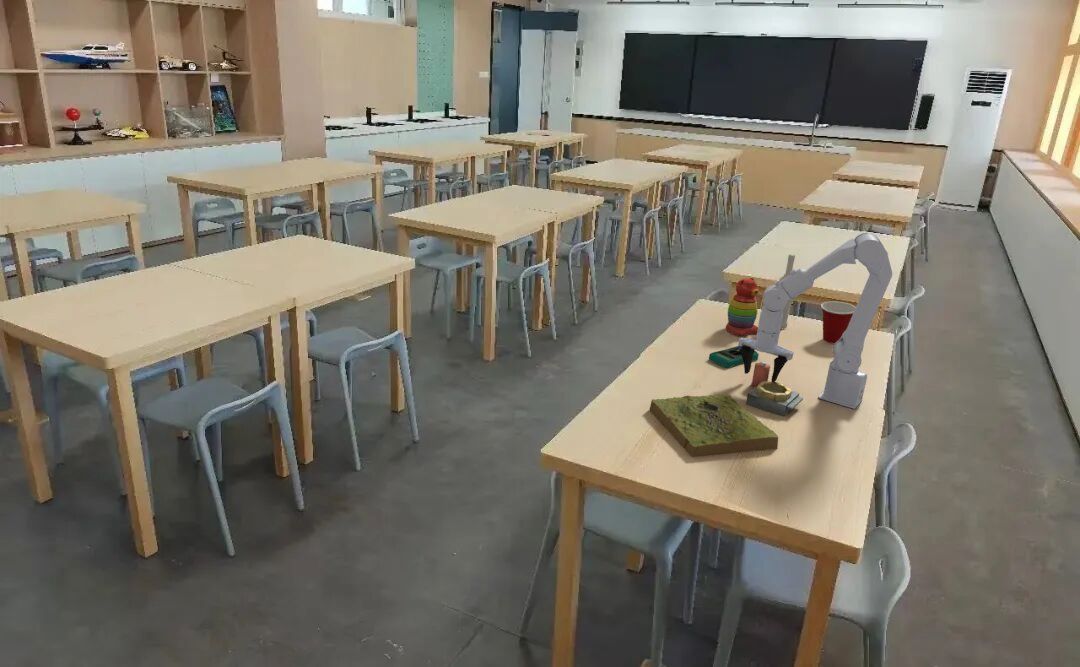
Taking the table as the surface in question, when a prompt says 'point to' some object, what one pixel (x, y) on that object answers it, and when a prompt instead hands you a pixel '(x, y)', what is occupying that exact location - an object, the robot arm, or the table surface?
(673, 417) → the miniature landscape model
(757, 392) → the stone well model
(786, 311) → the bottle
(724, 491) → the table surface
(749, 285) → the stacking bear
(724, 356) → the digital multimeter
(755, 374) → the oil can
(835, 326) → the plastic cup
